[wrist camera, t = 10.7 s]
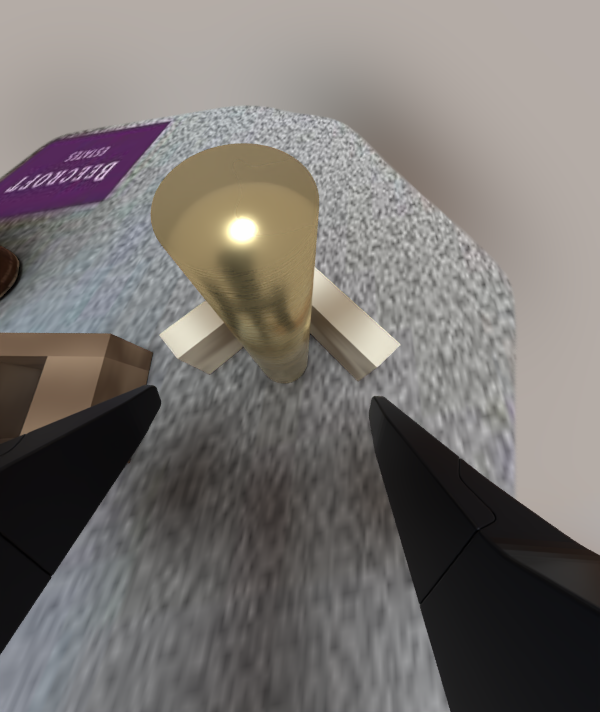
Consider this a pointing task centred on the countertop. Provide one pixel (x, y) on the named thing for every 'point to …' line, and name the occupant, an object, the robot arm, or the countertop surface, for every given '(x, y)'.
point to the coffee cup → (7, 270)
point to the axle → (247, 246)
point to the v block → (328, 326)
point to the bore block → (63, 376)
